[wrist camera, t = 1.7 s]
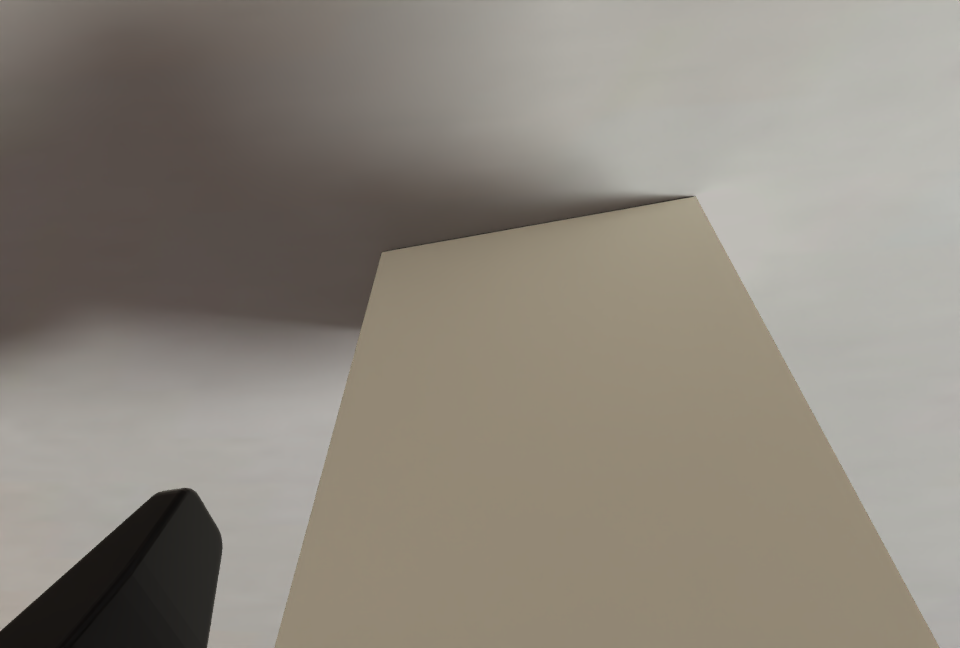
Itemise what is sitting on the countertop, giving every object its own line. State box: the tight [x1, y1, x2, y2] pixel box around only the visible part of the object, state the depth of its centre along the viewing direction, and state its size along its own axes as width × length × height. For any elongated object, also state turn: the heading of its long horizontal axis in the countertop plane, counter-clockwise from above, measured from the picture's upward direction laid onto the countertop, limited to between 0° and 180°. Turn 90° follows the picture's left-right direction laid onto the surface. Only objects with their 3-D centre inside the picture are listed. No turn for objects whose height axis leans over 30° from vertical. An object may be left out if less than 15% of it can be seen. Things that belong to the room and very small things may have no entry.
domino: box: [275, 196, 939, 648], centre depth 8 cm, size 2×5×10 cm, turn 101°
